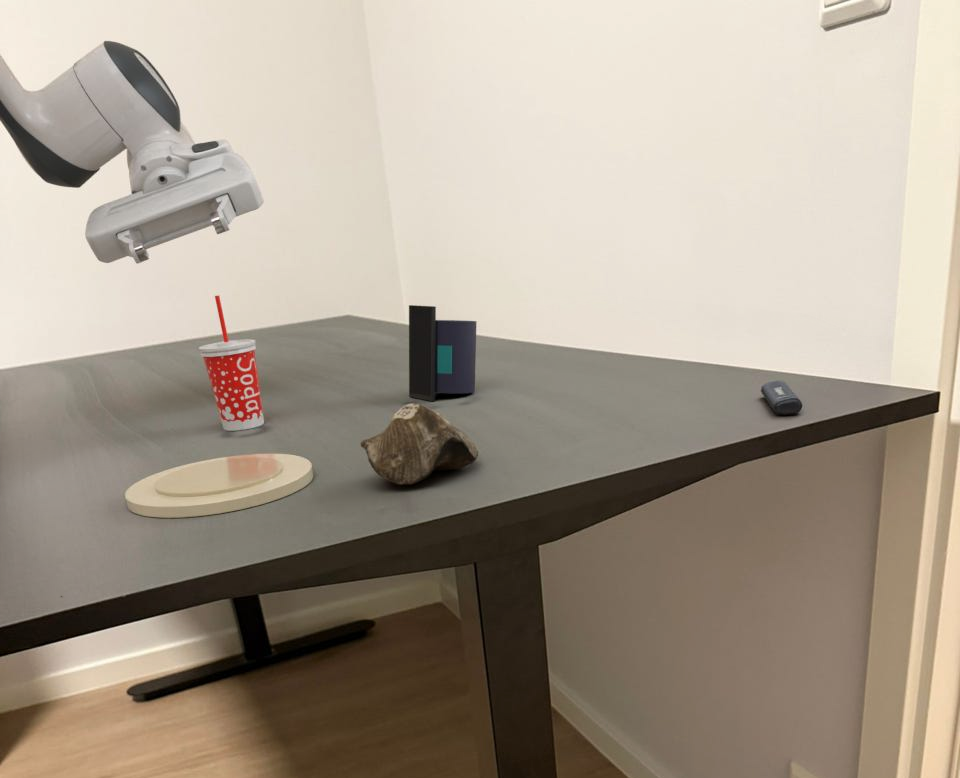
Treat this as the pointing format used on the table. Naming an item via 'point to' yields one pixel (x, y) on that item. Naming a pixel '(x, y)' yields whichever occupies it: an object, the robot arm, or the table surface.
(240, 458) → the plate
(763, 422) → the table surface
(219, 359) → the beverage cup
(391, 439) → the fossilized seashell
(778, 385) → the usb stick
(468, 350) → the speaker
